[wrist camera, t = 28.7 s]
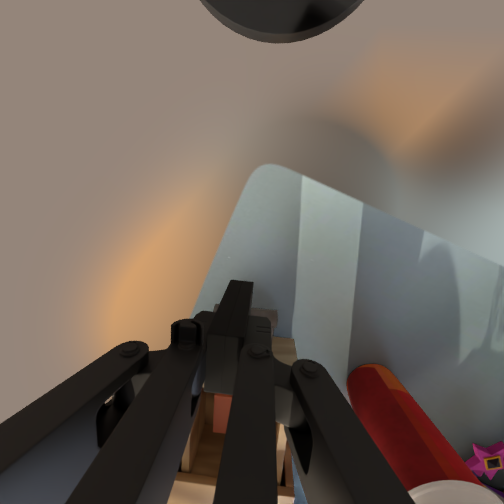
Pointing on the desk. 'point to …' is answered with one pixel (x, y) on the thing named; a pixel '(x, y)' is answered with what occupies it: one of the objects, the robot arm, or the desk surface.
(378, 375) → the coffee cup
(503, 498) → the purple toy playset
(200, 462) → the drawer
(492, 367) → the desk surface
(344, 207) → the desk surface
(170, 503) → the cabinet
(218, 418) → the block
